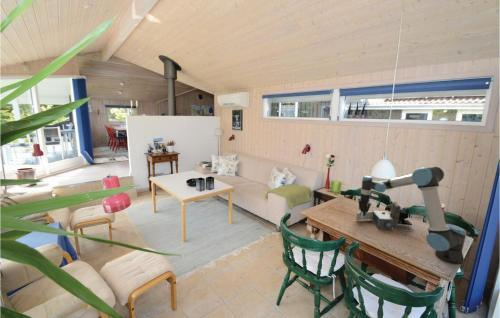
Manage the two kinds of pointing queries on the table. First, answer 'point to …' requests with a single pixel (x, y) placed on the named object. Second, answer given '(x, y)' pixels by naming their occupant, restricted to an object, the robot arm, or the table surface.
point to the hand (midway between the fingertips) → (362, 218)
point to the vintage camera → (399, 215)
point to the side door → (367, 216)
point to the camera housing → (382, 219)
